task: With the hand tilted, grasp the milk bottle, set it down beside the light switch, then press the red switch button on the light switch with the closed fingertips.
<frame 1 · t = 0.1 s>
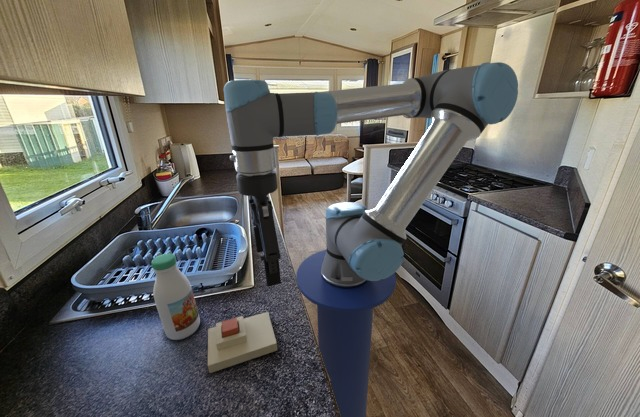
hand: (267, 265, 57), 17 cm above the worktop, tool pointing down, fingers open, 13 cm apart
light switch: (242, 342, 60), on the worktop
milk bottle: (183, 328, 64), on the worktop
red switch button: (230, 327, 58), point 4 cm above the worktop, slide at 0.1 cm
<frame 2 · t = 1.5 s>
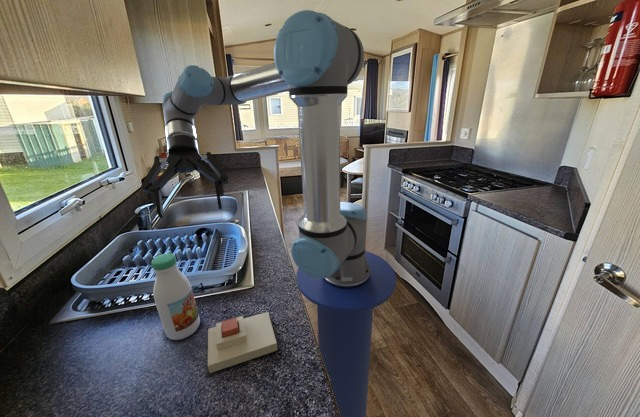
hand: (191, 211, 65), 26 cm above the worktop, tool tilted 45°, fingers open, 13 cm apart
nothing on the worktop moved.
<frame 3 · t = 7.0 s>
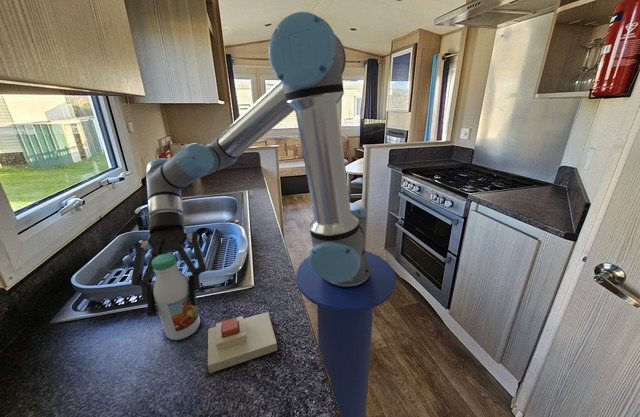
hand: (173, 310, 58), 9 cm above the worktop, tool tilted 45°, fingers closed on milk bottle, 8 cm apart
milk bottle: (183, 328, 64), on the worktop, touching gripper
everything else where it was.
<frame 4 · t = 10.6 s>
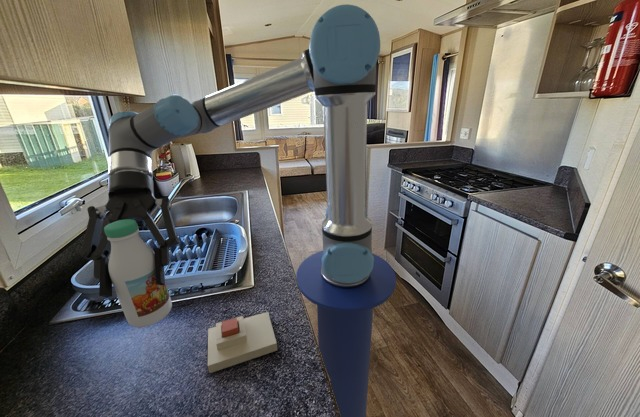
hand: (134, 289, 46), 20 cm above the worktop, tool tilted 45°, fingers closed on milk bottle, 8 cm apart
milk bottle: (151, 314, 52), point 12 cm above the worktop, touching gripper
everything else where it was.
when the fingers open (9 cm above the worktop, at t = 14.6 s): milk bottle stays where it is, on the worktop.
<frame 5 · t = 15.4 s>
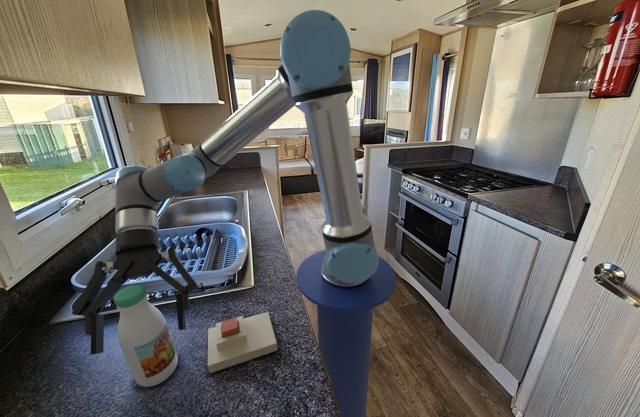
hand: (141, 341, 48), 10 cm above the worktop, tool tilted 45°, fingers open, 13 cm apart
milk bottle: (158, 370, 54), on the worktop
everything else where it was.
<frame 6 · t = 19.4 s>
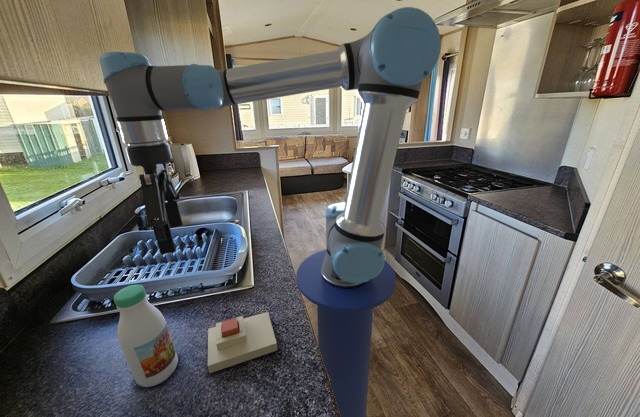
hand: (173, 238, 60), 22 cm above the worktop, tool pointing down, fingers open, 13 cm apart
nothing on the worktop moved.
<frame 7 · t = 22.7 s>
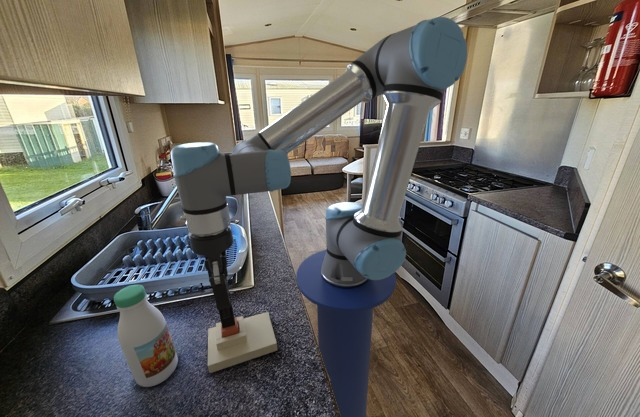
hand: (228, 324, 58), 5 cm above the worktop, tool pointing down, fingers closed
red switch button: (230, 327, 58), point 4 cm above the worktop, slide at 0.0 cm, touching gripper
everything else where it was.
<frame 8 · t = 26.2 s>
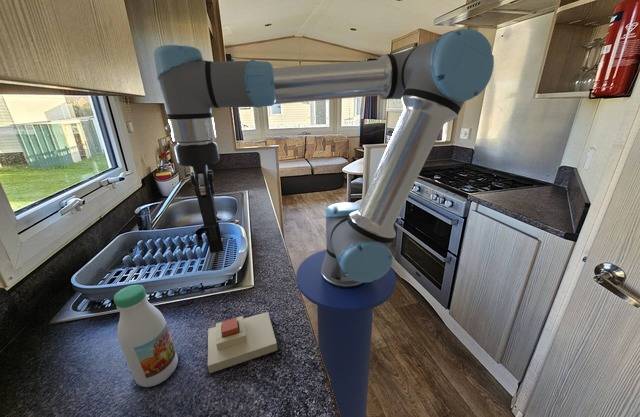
hand: (217, 250, 58), 20 cm above the worktop, tool pointing down, fingers closed
red switch button: (230, 327, 58), point 4 cm above the worktop, slide at 0.1 cm
everything else where it was.
at the end: red switch button pushed in 1.0 cm at the most during the clip, back to where it started at the end; milk bottle inside the target area (0.0 cm from its centre), on the worktop; milk bottle tilted 0° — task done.
